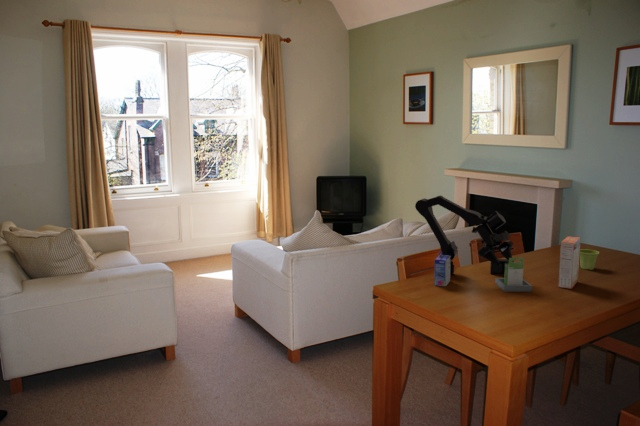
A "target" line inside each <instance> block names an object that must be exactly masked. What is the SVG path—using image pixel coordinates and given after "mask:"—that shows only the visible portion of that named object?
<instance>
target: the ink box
mask: <svg viewBox="0 0 640 426" xmlns="http://www.w3.org/2000/svg"><path fill="white" fill-rule="evenodd" d="M524 258H525V257H524V256H523V257H512V258H509V264H505V273H504V275H503V276H504V277H503V278H504V284H505V285H522V283H523V279H524V261H525V259H524ZM517 260H518V261H517ZM512 261H514V262H512Z"/></svg>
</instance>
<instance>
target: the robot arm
mask: <svg viewBox="0 0 640 426" xmlns="http://www.w3.org/2000/svg"><path fill="white" fill-rule="evenodd" d="M437 205H438V206H440V207H442V208H444V209H445V210H448V211H450V212H451V213H453V214H456V215H457V216H458V217H460V218H461V219H462V220H464V222H466V223H467V224H468V225H469V226H471V227H472V226H473V227H472V230H471V233H473V234H478V235H479V237H480V239H481V244H483V246H482V247H481V248H480V249H478V250H477V254H478V256H479V258H480V257H482V259H485V260H487V261H489V262H490V263H491V262H492V263H494V264H496V265H497V266H500V263H499V261H498V259H499V258H497V256H496V254H495V251H497V250H498V251H499V252H500V254H501V256H503V257H504V258H505V259H507V260H508V261H509V258H513V256H512V251H511V250H512V248H513V246H514V243H513V241H512V240H510V239H509V238H510V236H511V234H510V233H509V231H507V230H504V231H502V232H501V233H499V234H498V233H495V232H493V231H492V230H497V229H499V228H500V227H502V226H503V225H504V224H506V223H507V221H506V219H505V217H504V216H503V215H502V214H501V213H499V212H498V211H497V210H495V211H494V212H493V213H492V214H490V215H489V216H485V215H483V214H481V213H480V212H478V211H476V210H473V209H467V208H464V207H463V206H461V205H459V204H457V203H455V202H453V201H452V200H449V199H448V198H446V197H444V196H443V195H438V196H435V197H432V198H421V199H419V200H417V201H416V202H415V206H414V207H415V210H416V211H417V212H418V214H419V215H420V216H422V218H424V219H425V221H426V222H427V224H428V226H429V228H430V229H431V231H432V233H433V234H434V236H435V238H436V240H437V241H438V243H439V246H440V247H439V248H440V251H441V253H442V255H450V276H454V275H455V274H454V273H455V265H454V262H453V260H454V259H455V258H456V257H457V255H458V253H459V250H458V249H459V247H458V246H457V245H456V243H455V241H454V240H453V241H451V240H449V238H448V237H447V235H446V233H445V232H444V230H443V229H442V226H441V225H440V223H439V222H438V220H437V218H436V216H435V215H434V210H433V207H435V206H437ZM475 226H476V227H475ZM513 261H514V260H513ZM513 261H512V262H513Z"/></svg>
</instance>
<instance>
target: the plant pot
mask: <svg viewBox="0 0 640 426" xmlns="http://www.w3.org/2000/svg"><path fill="white" fill-rule="evenodd" d="M599 254H600V251H598V250H594V249H587V248H585V249H584V248H583V249H581V248H580V253H579V263H580V264H579V266H580V268H581V269H582V270H589V271H590V270H591V271H592V270H594V269H595V267H596V262H597V258H598V256H599Z"/></svg>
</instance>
